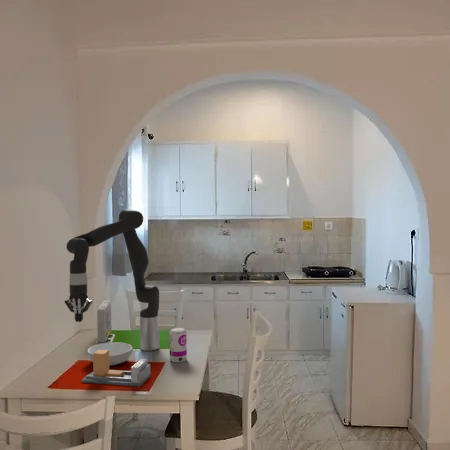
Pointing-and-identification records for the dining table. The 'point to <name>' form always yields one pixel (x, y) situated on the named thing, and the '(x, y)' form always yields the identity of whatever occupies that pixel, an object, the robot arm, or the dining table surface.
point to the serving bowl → (113, 351)
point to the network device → (104, 322)
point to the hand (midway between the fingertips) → (79, 321)
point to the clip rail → (124, 376)
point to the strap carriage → (103, 365)
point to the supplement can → (178, 344)
